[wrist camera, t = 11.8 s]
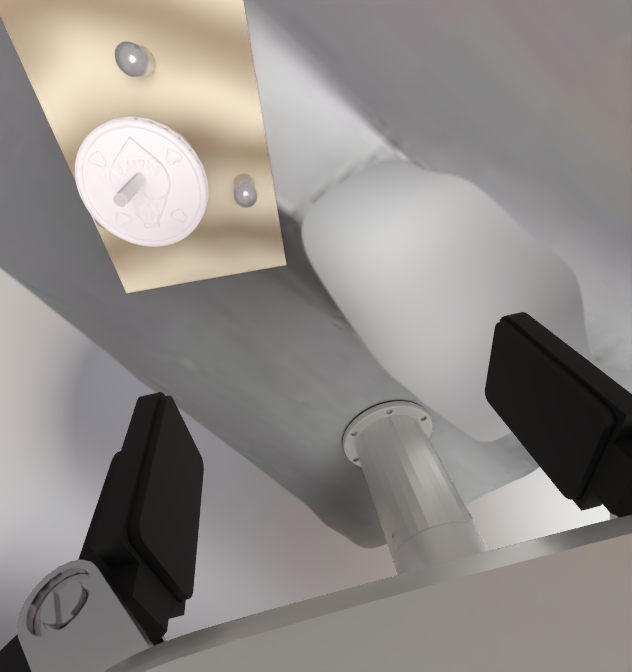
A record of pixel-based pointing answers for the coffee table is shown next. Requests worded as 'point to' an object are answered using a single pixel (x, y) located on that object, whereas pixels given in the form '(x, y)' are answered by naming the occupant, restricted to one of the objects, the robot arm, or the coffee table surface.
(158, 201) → the smoothie
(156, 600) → the robot arm
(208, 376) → the coffee table surface
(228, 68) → the pin board
